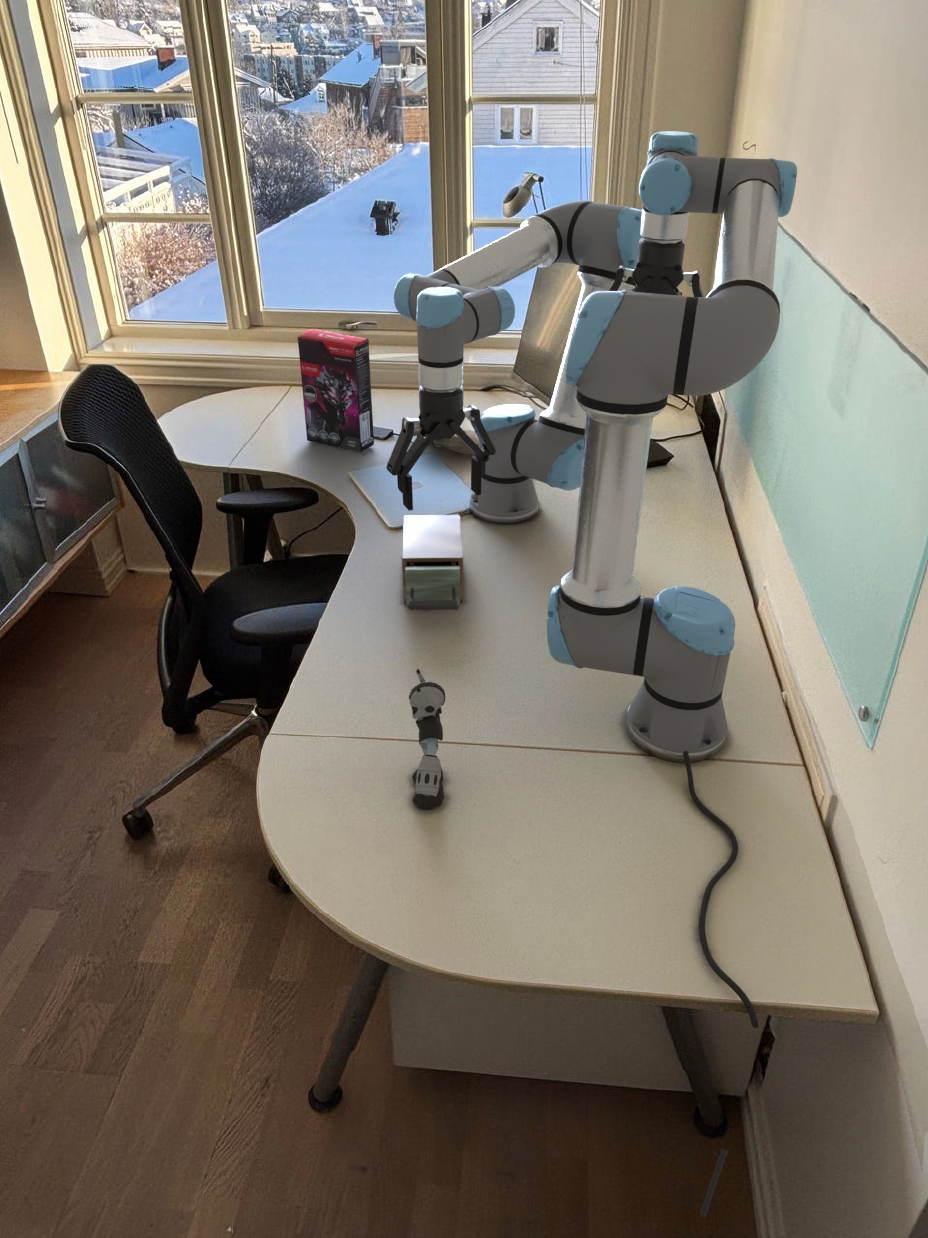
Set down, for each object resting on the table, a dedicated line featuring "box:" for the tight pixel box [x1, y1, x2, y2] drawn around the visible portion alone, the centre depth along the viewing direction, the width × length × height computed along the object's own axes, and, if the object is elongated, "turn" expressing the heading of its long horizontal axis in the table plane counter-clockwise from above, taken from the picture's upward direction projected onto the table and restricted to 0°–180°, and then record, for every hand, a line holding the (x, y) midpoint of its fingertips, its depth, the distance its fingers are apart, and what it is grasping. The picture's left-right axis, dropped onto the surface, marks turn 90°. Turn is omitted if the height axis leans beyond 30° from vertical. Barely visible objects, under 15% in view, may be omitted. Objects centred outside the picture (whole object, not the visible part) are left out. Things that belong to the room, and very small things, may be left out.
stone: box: [413, 426, 479, 457], centre depth 231 cm, size 21×15×6 cm
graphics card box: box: [297, 328, 375, 454], centre depth 227 cm, size 17×7×27 cm, turn 62°
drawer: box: [405, 562, 461, 611], centre depth 172 cm, size 22×10×8 cm, turn 2°
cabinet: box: [401, 514, 464, 604], centre depth 177 cm, size 17×11×10 cm, turn 2°
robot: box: [408, 668, 446, 810], centre depth 126 cm, size 20×5×20 cm, turn 3°
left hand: (442, 499), depth 167 cm, fingers open, 13 cm apart
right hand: (646, 366), depth 163 cm, fingers open, 13 cm apart
